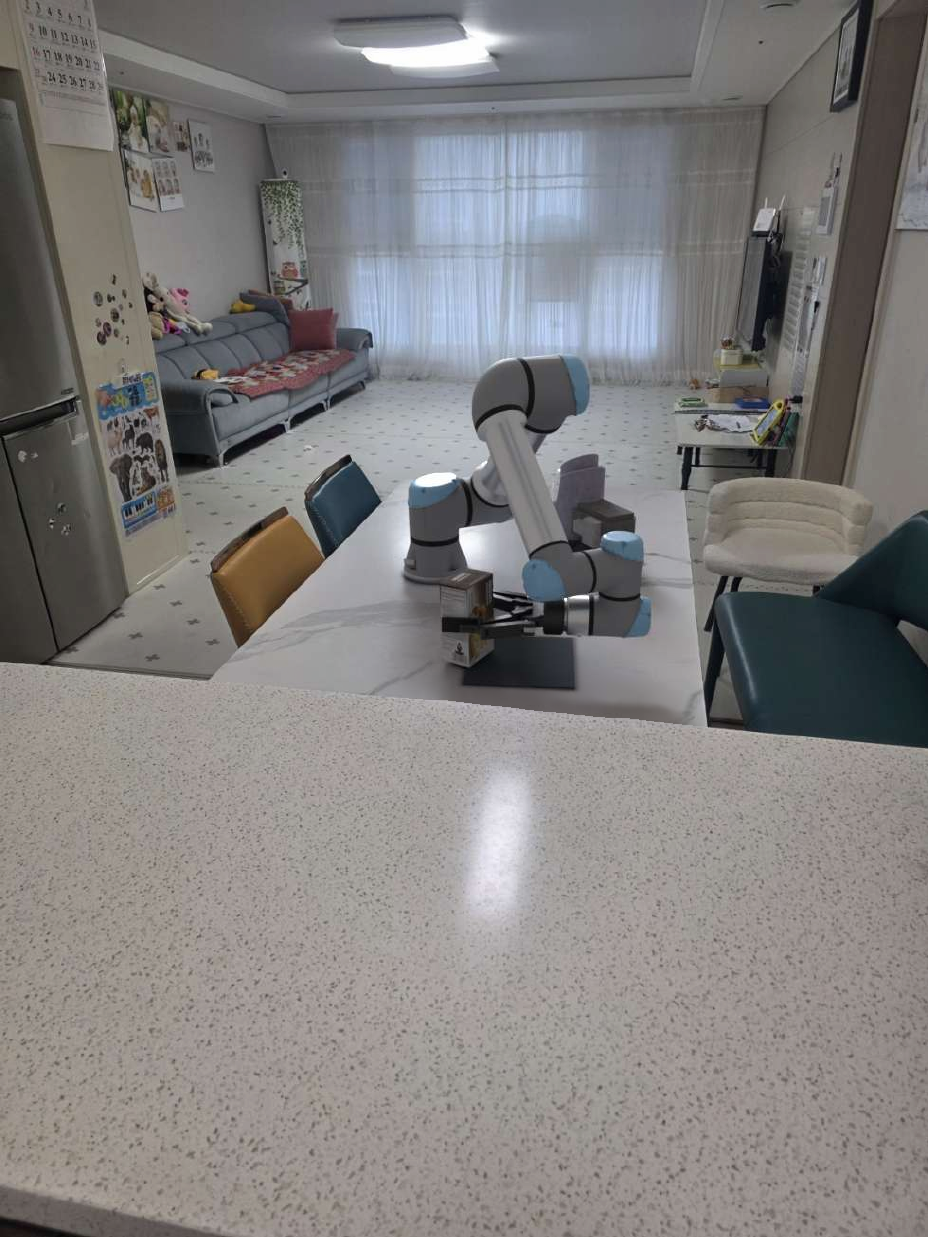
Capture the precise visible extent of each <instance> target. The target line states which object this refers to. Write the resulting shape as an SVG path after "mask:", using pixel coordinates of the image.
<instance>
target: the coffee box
mask: <svg viewBox="0 0 928 1237" xmlns="http://www.w3.org/2000/svg"><path fill="white" fill-rule="evenodd" d="M438 585H439V605H440V629H441V630H440V631H441V654H442V655H441V656H442V661H444V662H448V663H450V664H455V665H458V666H461V667H465V668H466V667H471V666H472V665H474V664H475V663H476V662H478V661H479V660H480V659H481V658H483V657H484V656H485V655H487V654H488V653H489V652H491V651H492V650H493V649H494V639H488V640H481V639H480V635H478V633H456V632H442V617H464V618H478V617H480V618H481V619H482V620H484V619H489V618H493V617H495V614H494V612H495V611H494V609H495V608H494V605H493V589H494V573H493V572H489V571H485V570H479V569H473V568H464V569H462V570H461V571H459V572H457V573H456V574H454V575H452V576H451V577H449V578H447V579H446V580H444V581H442V582H440V583H439V584H438Z"/></svg>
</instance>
